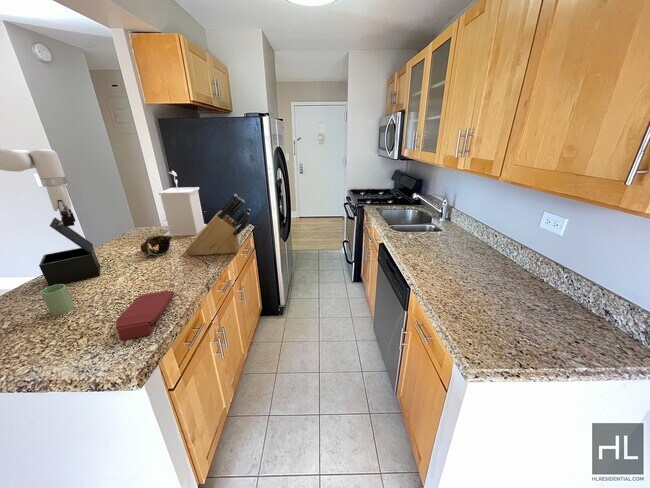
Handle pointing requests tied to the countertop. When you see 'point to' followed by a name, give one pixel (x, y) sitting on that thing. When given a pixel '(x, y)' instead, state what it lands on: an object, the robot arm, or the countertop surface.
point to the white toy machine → (182, 210)
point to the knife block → (221, 231)
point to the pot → (156, 240)
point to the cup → (57, 299)
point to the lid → (72, 235)
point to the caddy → (69, 266)
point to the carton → (142, 315)
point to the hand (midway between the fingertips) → (70, 223)
